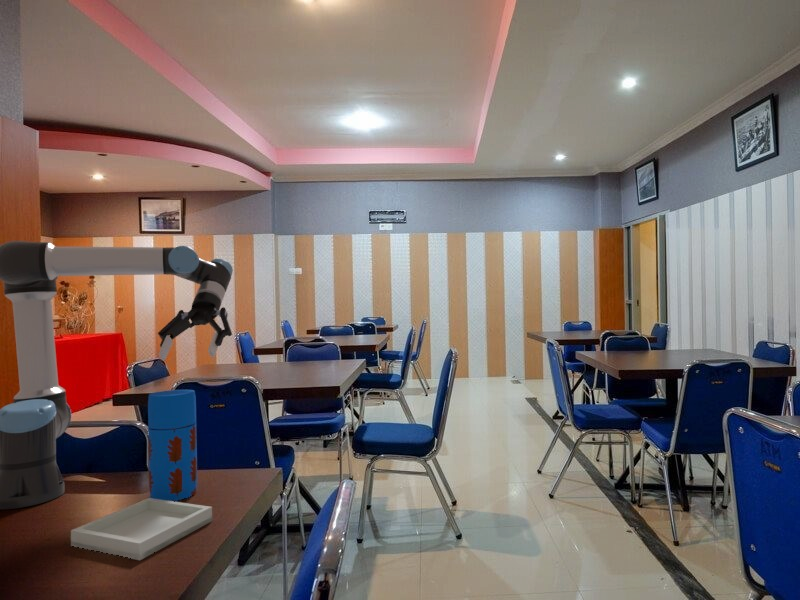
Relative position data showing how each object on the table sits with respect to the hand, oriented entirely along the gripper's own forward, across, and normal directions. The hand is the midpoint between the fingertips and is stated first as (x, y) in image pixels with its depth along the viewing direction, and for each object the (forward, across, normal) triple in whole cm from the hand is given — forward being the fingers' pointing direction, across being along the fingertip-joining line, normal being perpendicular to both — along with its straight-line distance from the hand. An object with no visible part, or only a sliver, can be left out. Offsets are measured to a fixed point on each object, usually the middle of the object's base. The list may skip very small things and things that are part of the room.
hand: (186, 355), depth 134 cm
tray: (+46, -6, -1) cm, 46 cm away
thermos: (+30, 0, -17) cm, 35 cm away
